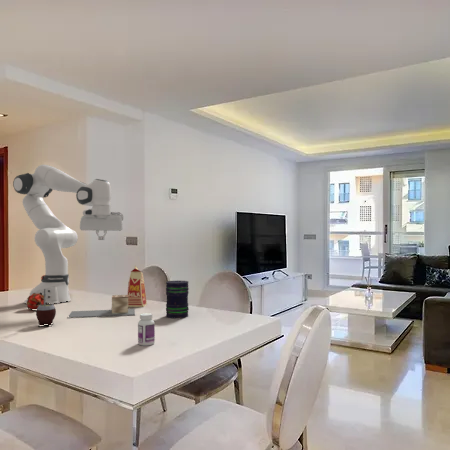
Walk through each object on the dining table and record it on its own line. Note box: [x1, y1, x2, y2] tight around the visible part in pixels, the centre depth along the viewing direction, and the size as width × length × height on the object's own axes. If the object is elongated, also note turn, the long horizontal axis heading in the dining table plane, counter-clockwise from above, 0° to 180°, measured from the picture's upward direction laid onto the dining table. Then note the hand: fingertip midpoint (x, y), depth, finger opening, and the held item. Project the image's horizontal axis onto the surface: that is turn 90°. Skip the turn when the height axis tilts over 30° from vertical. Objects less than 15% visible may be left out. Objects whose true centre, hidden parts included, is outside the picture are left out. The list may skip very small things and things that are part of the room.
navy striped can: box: [165, 280, 190, 319], centre depth 184 cm, size 10×10×15 cm
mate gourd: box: [35, 289, 57, 326], centre depth 165 cm, size 8×8×15 cm
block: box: [111, 294, 129, 314], centre depth 191 cm, size 7×7×7 cm
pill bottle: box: [137, 312, 156, 347], centre depth 138 cm, size 5×5×10 cm
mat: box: [68, 308, 136, 318], centre depth 189 cm, size 28×14×1 cm, turn 103°
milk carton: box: [127, 265, 148, 308], centre depth 211 cm, size 9×9×20 cm
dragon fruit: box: [26, 293, 48, 310], centre depth 199 cm, size 8×8×12 cm
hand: (101, 239), depth 208 cm, fingers closed
